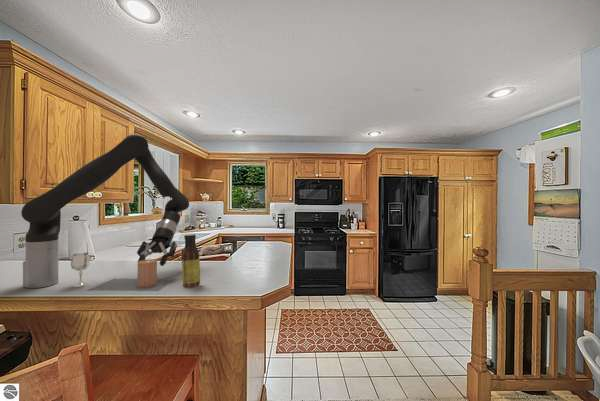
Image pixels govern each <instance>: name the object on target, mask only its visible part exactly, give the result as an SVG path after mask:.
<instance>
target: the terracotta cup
mask: <svg viewBox="0 0 600 401" xmlns="http://www.w3.org/2000/svg"><path fill="white" fill-rule="evenodd" d="M157 272H158V261H157V259H154V258H153V259H152V258H149V259H145V260H141V261H138V260H137V279H138V287H149V286H153V285H155V284H157V279H158V273H157Z"/></svg>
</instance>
